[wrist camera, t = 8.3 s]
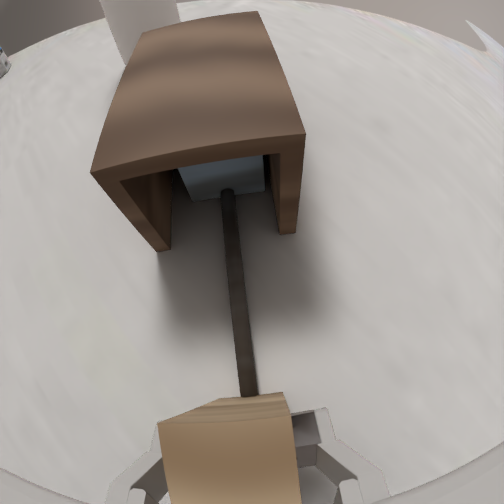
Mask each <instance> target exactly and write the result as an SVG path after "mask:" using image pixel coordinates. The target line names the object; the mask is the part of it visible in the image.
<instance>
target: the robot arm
mask: <svg viewBox="0 0 504 504" xmlns="http://www.w3.org/2000/svg"><path fill="white" fill-rule="evenodd" d="M291 419H292V427H293V435H294V443H295V451H296V460H297V468H301V467H308V466H315V465H316V467H317V468H318V469H319V470H320V471H321V472H322V473H323V474H324V475H325V476H326V477H327V478H329V479H330V480H331V481H332V482H333V483H334V484H335V485H336V486H337V487H338V490H337V493H336V496H335V500H334V503H333V504H504V441H503V442H502V443H500V444H499V445H497V446H496V447H494V448H493V449H491V450H489V451H488V452H486V453H485V454H483V455H481V456H479V457H478V458H476V459H474V460H472V461H471V462H469V463H467V464H465V465H463V466H461V467H460V468H458V469H456V470H454V471H452V472H450V473H448V474H446V475H443V476H441V477H439V478H437V479H435V480H433V481H430V482H428V483H426V484H423V485H421V486H418V487H416V488H413V489H411V490H408V491H406V492H403V493H400V494H397V495H395V496H392V497H391V496H390V493H389V490H388V487H387V484H386V481H385V478H384V475H383V472H382V470H381V469H380V468H378V467H377V466H376V465H374V464H373V463H371V462H370V461H368V460H367V459H366V458H364V457H363V456H361V455H360V454H359V453H357V452H356V451H355V450H353V449H352V448H350V447H349V446H348V445H346V444H345V443H344V442H342V441H341V440H336V438H335V434H334V430H333V427H332V423H331V420H330V416H329V412H328V409H327V408H321V409H316V410H308V411H303V412H297V413H291ZM159 422H162V421H158V423H159ZM167 492H168V486H167V481H166V476H165V470H164V465H163V459H162V453H161V447H160V440H159V433H158V426H157V424H156V428H155V432H154V436H153V440H152V444H151V448H150V452H145V453H144V454H143V455H142V456H141V457H140V458H139V459H138V460H137V461H135V462H134V463H133V464H132V465H131V466H130V467H129V468H127V469H126V470H125V471H124V472H123V473H122V474H121V475H119V476H118V477H117V478H116V479H115V480H113V481H112V482H111V483H110V487H109V490H108V494H107V497H106V501H105V504H159V503H158V502H159V501H160V500H161V499H162V498H163V496H164V495H165V494H166V493H167ZM0 504H89V503H86V502H82V501H79V500H76V499H73V498H70V497H67V496H64V495H62V494H59V493H56V492H54V491H51V490H49V489H46V488H44V487H41V486H39V485H36V484H34V483H32V482H30V481H27V480H25V479H23V478H21V477H19V476H17V475H15V474H13V473H11V472H9V471H7V470H5V469H1V468H0Z"/></svg>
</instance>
